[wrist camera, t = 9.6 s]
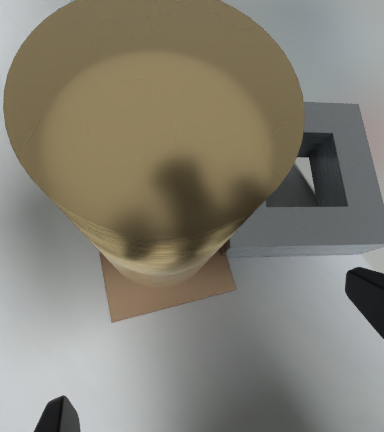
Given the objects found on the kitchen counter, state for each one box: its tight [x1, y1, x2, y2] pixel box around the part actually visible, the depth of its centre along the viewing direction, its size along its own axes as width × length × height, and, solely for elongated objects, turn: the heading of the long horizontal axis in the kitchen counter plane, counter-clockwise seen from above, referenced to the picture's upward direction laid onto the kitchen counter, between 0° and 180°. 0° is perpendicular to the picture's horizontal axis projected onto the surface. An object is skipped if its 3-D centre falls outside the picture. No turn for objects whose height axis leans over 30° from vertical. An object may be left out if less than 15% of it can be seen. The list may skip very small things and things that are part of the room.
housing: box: [220, 102, 384, 258], centre depth 19 cm, size 9×9×3 cm
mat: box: [99, 249, 236, 322], centre depth 18 cm, size 7×7×1 cm
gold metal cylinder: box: [3, 0, 305, 288], centre depth 11 cm, size 5×5×13 cm
